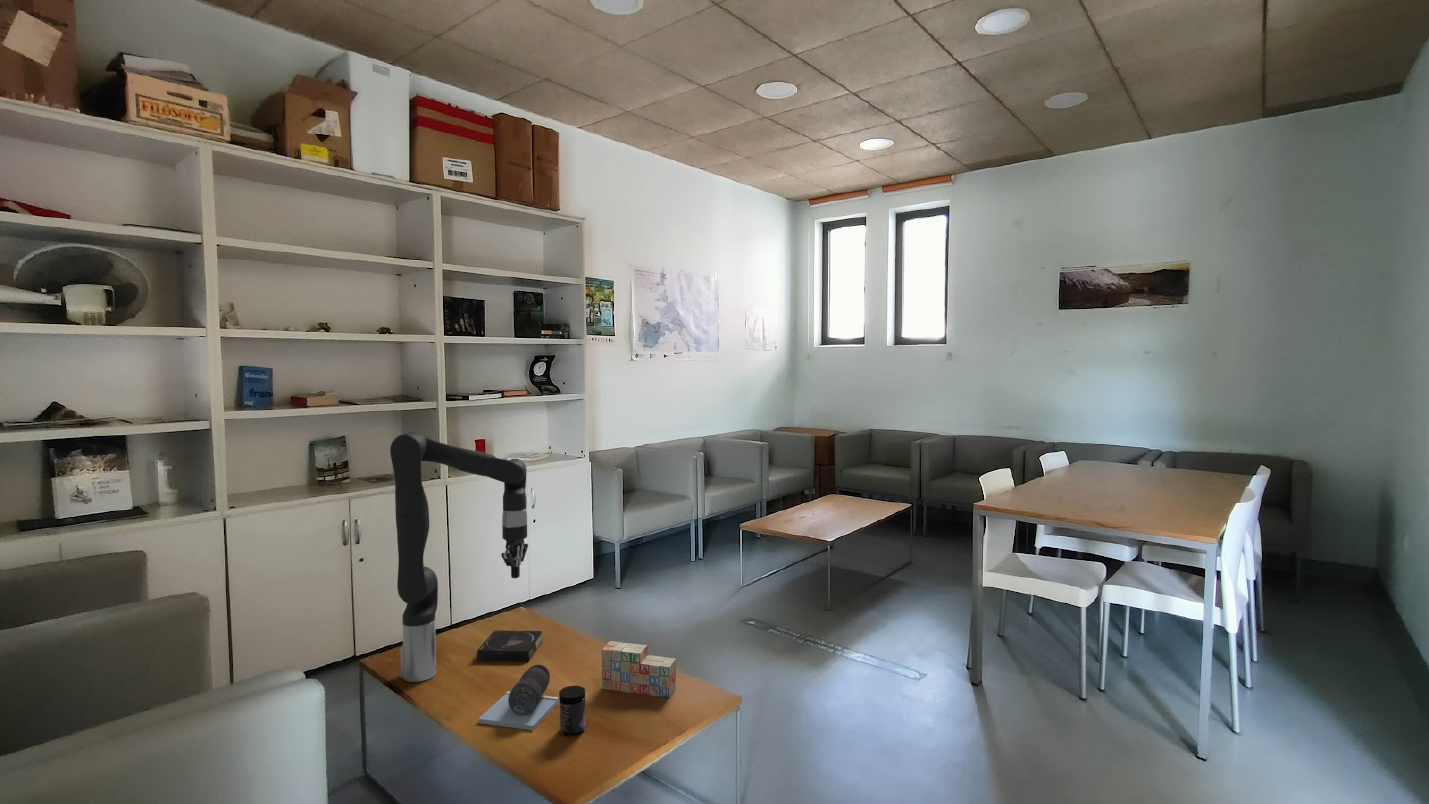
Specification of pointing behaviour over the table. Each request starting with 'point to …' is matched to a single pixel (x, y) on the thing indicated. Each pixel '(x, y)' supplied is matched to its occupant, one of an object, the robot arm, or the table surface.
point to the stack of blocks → (637, 670)
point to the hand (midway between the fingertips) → (515, 577)
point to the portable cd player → (510, 646)
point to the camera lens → (529, 690)
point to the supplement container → (572, 710)
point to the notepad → (507, 718)
